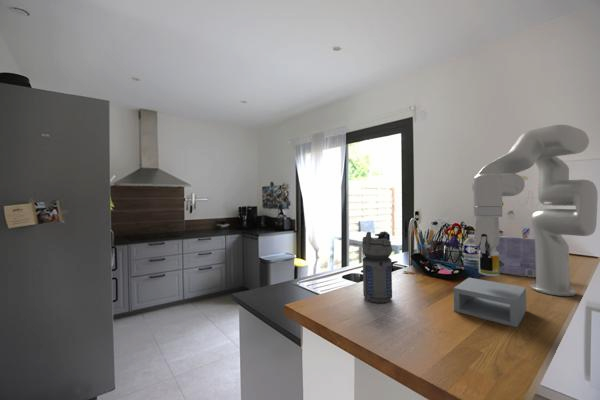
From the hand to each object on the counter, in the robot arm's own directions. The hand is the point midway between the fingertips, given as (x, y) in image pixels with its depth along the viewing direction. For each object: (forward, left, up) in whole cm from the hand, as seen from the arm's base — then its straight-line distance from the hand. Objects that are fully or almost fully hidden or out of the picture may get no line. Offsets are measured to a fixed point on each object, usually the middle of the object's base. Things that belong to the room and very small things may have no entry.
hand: (488, 267), depth 86 cm
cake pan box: (-57, -2, -14) cm, 59 cm away
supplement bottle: (0, 0, -2) cm, 2 cm away
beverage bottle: (+15, -31, -14) cm, 37 cm away
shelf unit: (0, 0, -14) cm, 14 cm away
